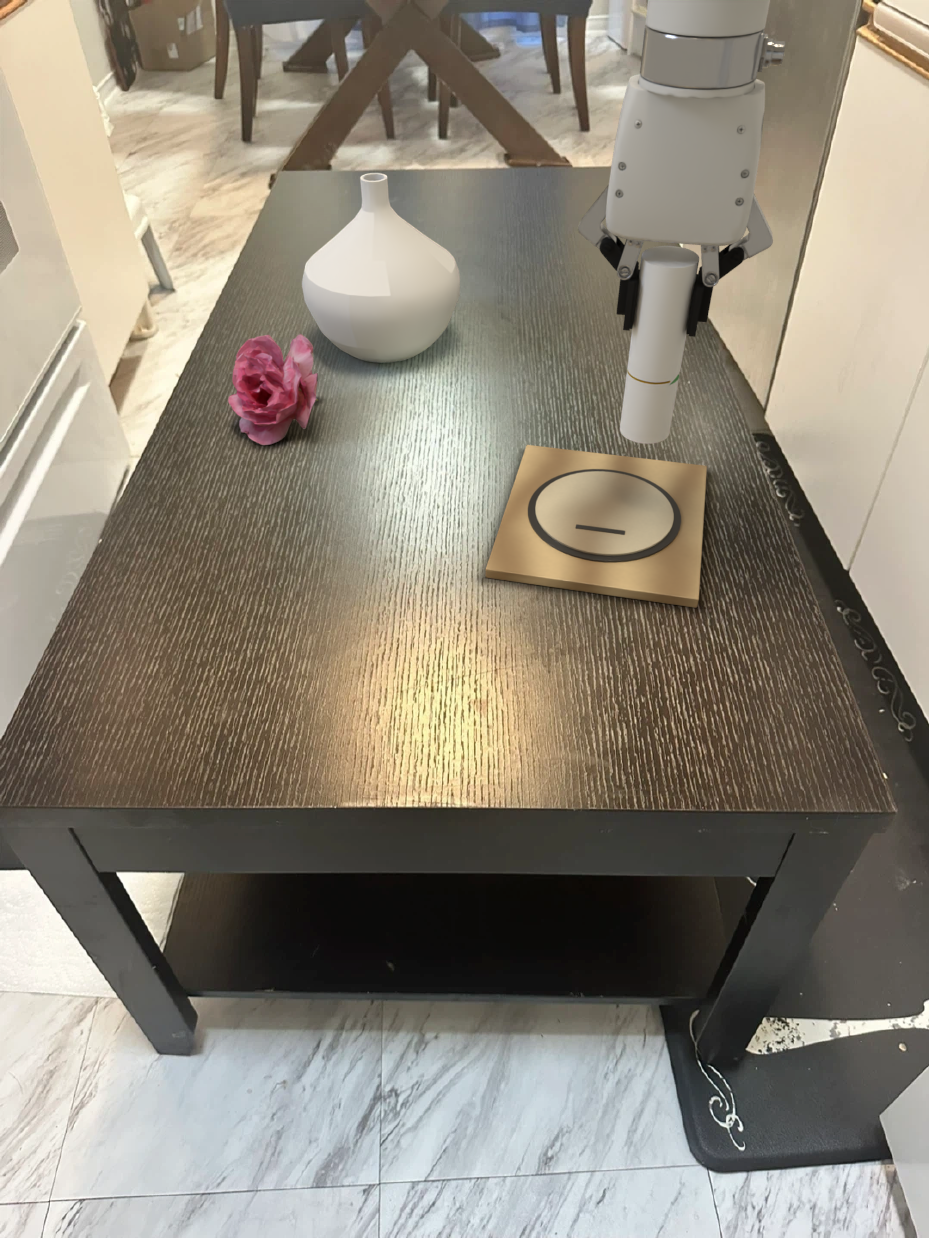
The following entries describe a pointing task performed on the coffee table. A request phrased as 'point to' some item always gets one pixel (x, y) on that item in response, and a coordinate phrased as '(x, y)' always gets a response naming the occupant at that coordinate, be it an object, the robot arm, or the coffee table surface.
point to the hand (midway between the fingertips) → (660, 323)
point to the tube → (657, 342)
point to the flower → (273, 387)
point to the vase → (381, 283)
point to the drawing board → (603, 526)
